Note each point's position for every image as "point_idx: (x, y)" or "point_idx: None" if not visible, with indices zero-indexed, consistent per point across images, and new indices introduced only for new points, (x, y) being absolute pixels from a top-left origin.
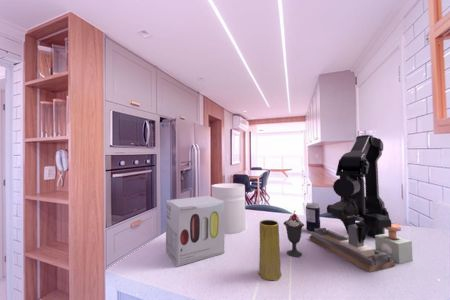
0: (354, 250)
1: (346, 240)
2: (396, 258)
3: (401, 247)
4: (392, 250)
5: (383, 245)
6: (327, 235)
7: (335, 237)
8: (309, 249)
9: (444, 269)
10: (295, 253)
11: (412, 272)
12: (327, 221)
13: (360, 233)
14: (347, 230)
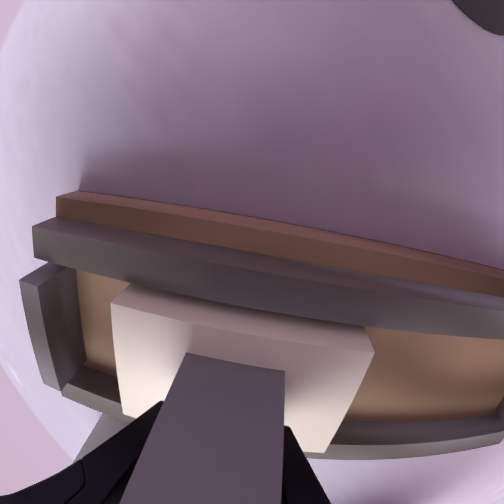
0: (195, 308)
1: (336, 411)
2: (108, 427)
3: None
4: None
5: None
6: (489, 404)
7: (445, 422)
8: (499, 130)
9: (62, 447)
10: None
11: None
12: (495, 491)
13: (83, 467)
14: (305, 496)
